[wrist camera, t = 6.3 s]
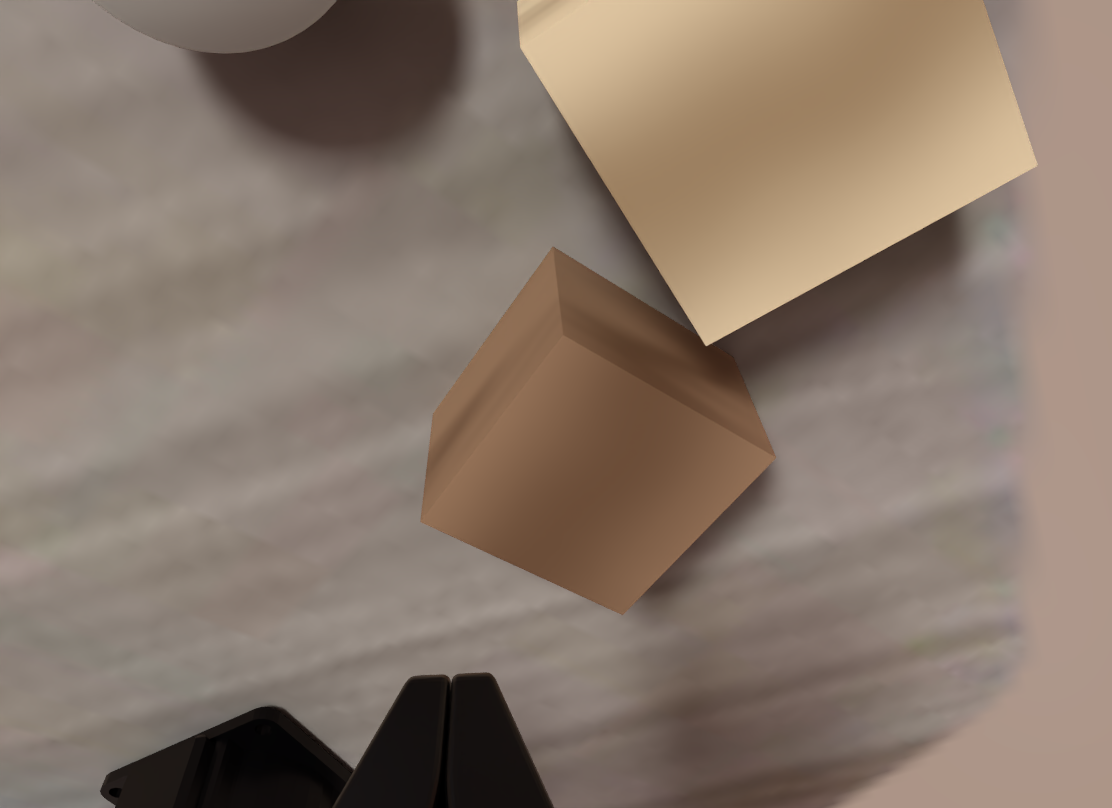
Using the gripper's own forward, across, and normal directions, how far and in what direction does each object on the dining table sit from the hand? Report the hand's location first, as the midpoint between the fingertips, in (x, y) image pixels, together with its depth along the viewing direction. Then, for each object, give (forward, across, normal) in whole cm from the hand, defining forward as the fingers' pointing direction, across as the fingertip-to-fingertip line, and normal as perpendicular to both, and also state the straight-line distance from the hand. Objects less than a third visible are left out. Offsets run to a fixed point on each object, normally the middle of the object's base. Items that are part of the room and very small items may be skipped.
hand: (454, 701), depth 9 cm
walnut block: (+12, -2, +3) cm, 12 cm away
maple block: (+12, -5, -4) cm, 13 cm away
